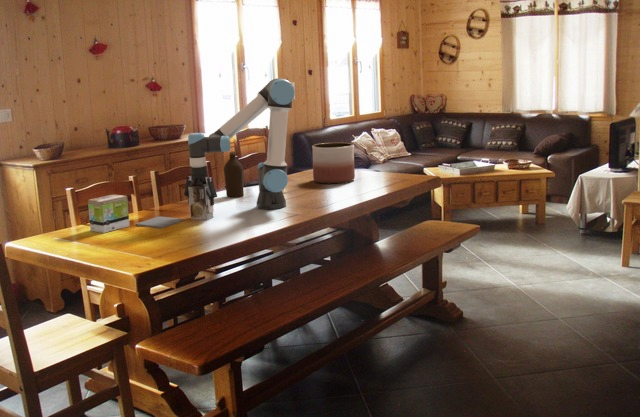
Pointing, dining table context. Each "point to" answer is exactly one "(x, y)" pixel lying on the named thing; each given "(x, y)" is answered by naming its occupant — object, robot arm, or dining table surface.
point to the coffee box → (199, 203)
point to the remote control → (250, 184)
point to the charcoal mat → (160, 222)
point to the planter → (333, 163)
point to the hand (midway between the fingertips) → (201, 211)
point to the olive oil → (233, 177)
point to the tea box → (108, 213)
